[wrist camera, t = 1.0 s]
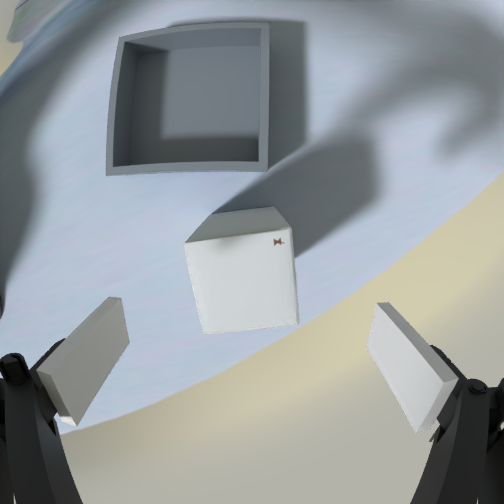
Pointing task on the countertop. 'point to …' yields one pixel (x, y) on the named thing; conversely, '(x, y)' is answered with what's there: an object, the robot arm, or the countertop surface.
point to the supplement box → (243, 271)
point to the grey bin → (190, 100)
